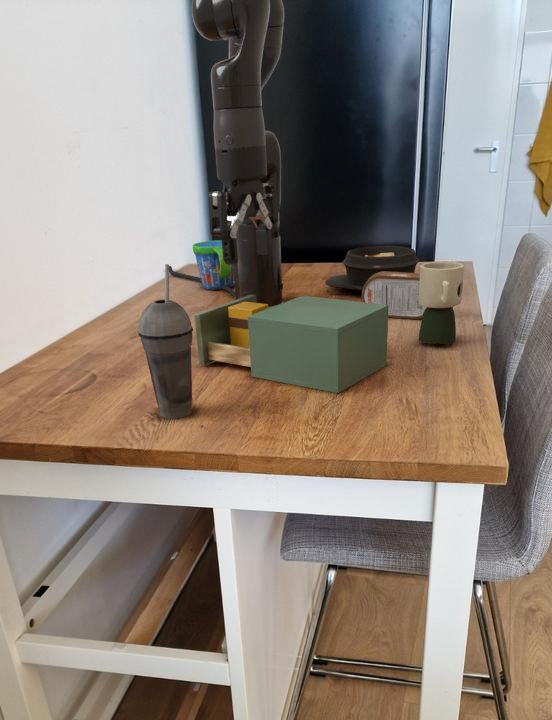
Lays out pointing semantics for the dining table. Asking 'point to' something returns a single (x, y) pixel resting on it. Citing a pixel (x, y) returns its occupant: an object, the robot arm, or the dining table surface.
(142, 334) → the beverage cup
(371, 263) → the casserole
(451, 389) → the dining table surface
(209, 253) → the snack cup
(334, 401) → the dining table surface
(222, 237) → the robot arm
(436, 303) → the character mug
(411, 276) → the tin
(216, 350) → the drawer
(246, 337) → the snack box
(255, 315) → the cabinet
